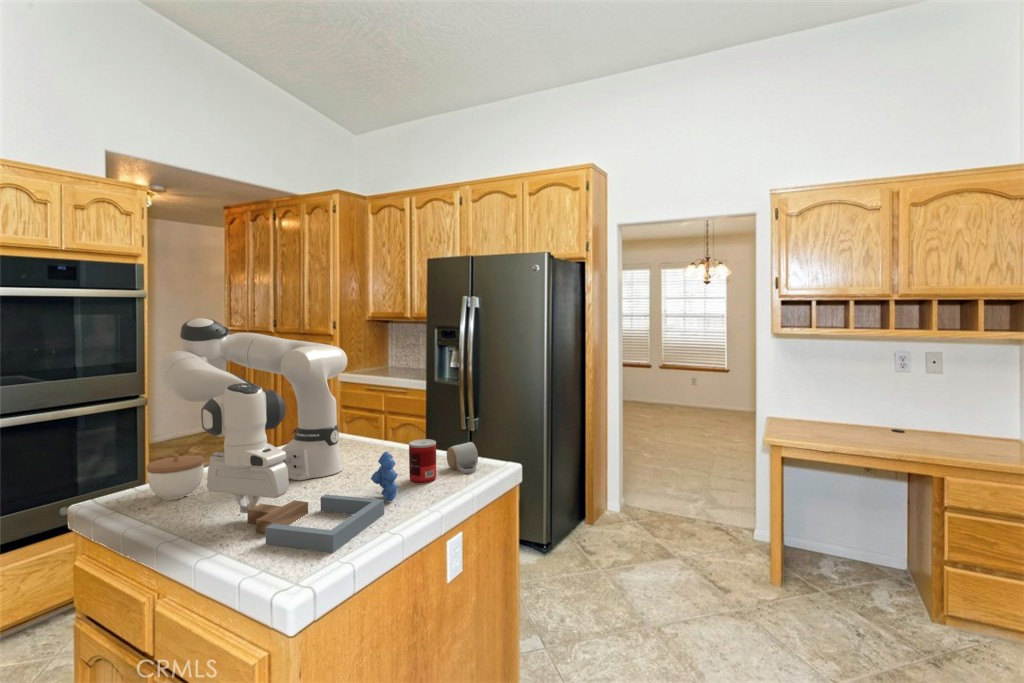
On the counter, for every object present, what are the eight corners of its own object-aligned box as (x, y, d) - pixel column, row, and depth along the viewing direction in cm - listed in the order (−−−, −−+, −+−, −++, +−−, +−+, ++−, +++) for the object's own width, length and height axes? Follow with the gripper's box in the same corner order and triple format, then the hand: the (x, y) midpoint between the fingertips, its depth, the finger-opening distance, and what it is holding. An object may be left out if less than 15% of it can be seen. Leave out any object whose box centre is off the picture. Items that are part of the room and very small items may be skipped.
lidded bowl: (182, 504, 123) (180, 461, 123) (135, 503, 124) (133, 460, 124) (215, 487, 136) (214, 448, 136) (172, 487, 137) (171, 448, 136)
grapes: (366, 494, 129) (366, 449, 129) (392, 490, 132) (391, 446, 132) (375, 509, 119) (374, 460, 119) (402, 504, 122) (402, 457, 122)
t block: (233, 530, 107) (233, 516, 107) (273, 509, 119) (272, 497, 119) (271, 535, 105) (271, 521, 105) (308, 514, 116) (308, 502, 116)
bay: (265, 544, 100) (265, 527, 100) (325, 508, 120) (325, 494, 120) (333, 552, 96) (333, 535, 96) (384, 514, 116) (384, 499, 116)
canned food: (439, 475, 145) (438, 439, 145) (432, 484, 137) (431, 445, 137) (414, 475, 146) (413, 438, 145) (406, 483, 138) (405, 445, 137)
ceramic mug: (445, 466, 154) (445, 442, 154) (468, 462, 158) (468, 439, 158) (458, 476, 145) (458, 451, 144) (483, 471, 149) (483, 447, 148)
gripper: (198, 454, 113) (200, 513, 113) (272, 460, 107) (274, 522, 108) (221, 447, 119) (223, 503, 119) (292, 452, 113) (293, 511, 114)
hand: (247, 512), depth 113 cm, fingers closed
